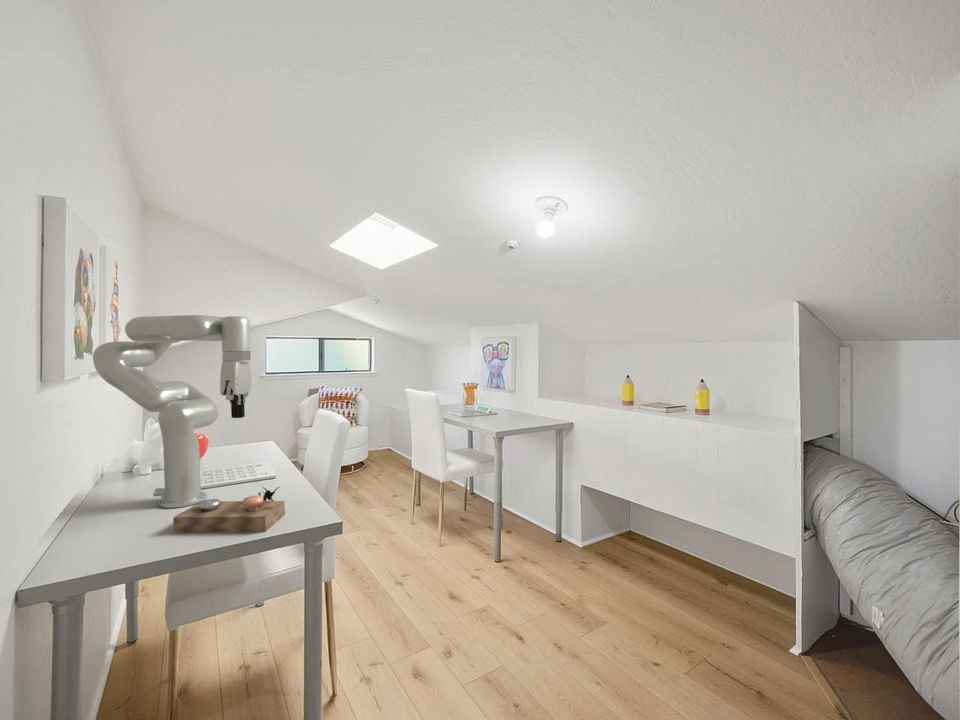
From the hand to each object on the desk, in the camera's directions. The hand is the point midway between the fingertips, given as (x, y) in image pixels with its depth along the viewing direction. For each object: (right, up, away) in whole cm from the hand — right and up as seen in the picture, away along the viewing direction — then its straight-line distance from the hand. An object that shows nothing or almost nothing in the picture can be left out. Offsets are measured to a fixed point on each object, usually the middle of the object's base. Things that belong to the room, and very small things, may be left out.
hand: (238, 417), depth 139 cm
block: (+5, -28, -13) cm, 31 cm away
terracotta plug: (+11, -26, -13) cm, 31 cm away
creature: (+7, -27, +2) cm, 28 cm away
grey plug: (-1, -27, -13) cm, 30 cm away
